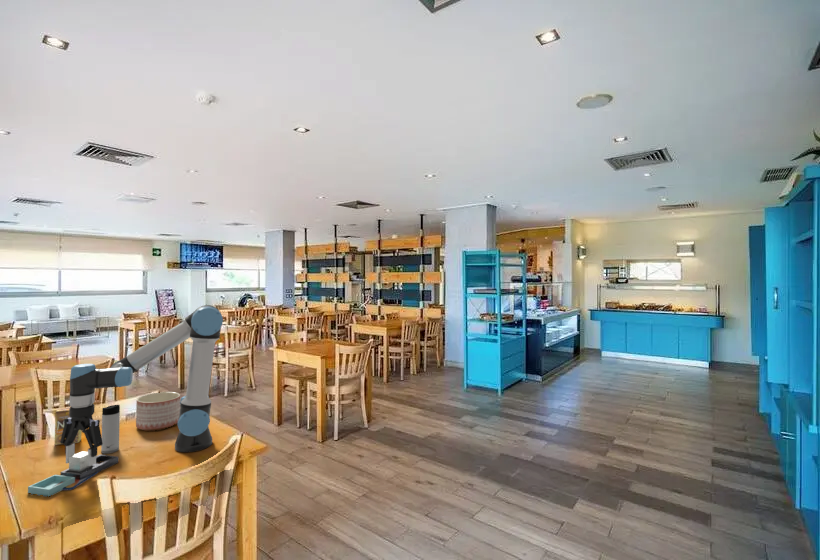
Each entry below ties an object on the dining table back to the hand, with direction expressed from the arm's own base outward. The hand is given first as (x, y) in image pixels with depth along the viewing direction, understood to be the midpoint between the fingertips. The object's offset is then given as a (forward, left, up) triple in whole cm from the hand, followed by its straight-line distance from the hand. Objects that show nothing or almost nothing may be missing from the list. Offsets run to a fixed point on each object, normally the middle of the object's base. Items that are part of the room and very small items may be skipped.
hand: (80, 463), depth 156 cm
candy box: (+35, -24, -5) cm, 43 cm away
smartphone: (-2, +3, -5) cm, 6 cm away
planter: (+13, -52, -5) cm, 53 cm away
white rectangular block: (0, 0, -5) cm, 5 cm away
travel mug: (+9, -21, -5) cm, 23 cm away
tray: (0, +10, -5) cm, 11 cm away
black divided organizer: (0, -4, -5) cm, 6 cm away
